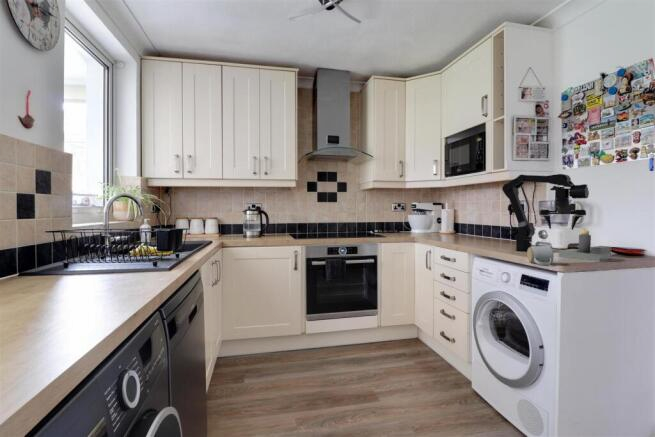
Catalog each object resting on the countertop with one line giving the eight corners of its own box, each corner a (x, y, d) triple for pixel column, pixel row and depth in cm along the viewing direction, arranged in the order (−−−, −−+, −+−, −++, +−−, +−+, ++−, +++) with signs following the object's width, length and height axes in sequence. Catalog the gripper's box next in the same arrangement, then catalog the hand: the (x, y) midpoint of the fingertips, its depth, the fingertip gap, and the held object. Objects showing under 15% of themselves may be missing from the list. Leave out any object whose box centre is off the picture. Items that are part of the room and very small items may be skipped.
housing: (559, 256, 153) (559, 244, 153) (571, 254, 159) (571, 243, 159) (599, 261, 139) (599, 248, 139) (611, 259, 145) (611, 246, 145)
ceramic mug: (526, 261, 140) (526, 244, 140) (547, 262, 138) (547, 244, 137) (534, 265, 130) (534, 247, 130) (557, 266, 128) (557, 248, 127)
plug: (582, 258, 147) (583, 231, 147) (575, 257, 152) (576, 230, 151) (593, 258, 147) (594, 231, 146) (585, 257, 151) (586, 230, 151)
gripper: (542, 198, 156) (541, 229, 157) (589, 198, 148) (588, 230, 148) (539, 199, 166) (538, 228, 167) (583, 198, 157) (582, 229, 158)
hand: (561, 229), depth 160 cm, fingers open, 9 cm apart
